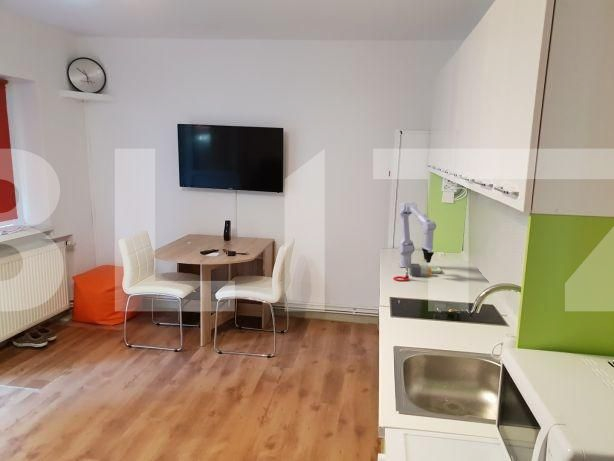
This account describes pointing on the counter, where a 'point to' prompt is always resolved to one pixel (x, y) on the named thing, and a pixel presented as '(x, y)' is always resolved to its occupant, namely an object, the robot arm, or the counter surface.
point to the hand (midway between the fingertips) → (427, 261)
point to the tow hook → (402, 276)
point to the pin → (422, 271)
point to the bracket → (416, 270)
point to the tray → (434, 270)
